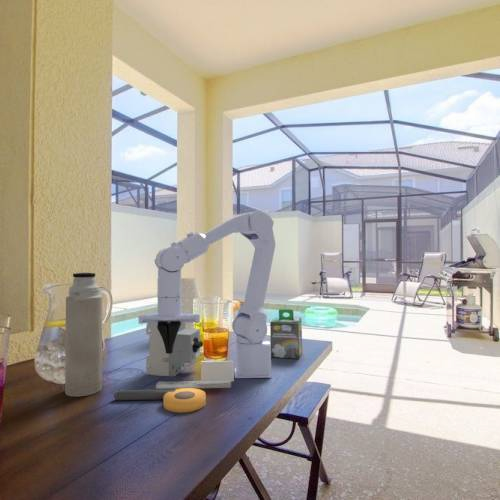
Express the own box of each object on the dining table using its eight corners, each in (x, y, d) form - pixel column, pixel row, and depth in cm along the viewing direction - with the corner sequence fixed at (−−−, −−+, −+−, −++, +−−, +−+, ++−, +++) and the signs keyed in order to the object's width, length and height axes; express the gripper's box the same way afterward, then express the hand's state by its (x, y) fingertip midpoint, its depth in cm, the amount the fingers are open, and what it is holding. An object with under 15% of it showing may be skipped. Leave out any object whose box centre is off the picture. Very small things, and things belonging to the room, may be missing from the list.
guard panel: (233, 380, 92) (233, 360, 92) (233, 381, 91) (233, 361, 91) (201, 380, 91) (201, 361, 92) (201, 381, 91) (201, 362, 91)
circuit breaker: (196, 378, 98) (196, 320, 98) (146, 374, 100) (146, 318, 101) (205, 369, 105) (205, 316, 105) (158, 366, 108) (158, 314, 108)
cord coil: (207, 395, 85) (207, 387, 85) (204, 411, 76) (204, 402, 76) (167, 396, 85) (167, 388, 85) (159, 413, 76) (159, 403, 76)
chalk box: (302, 352, 124) (302, 307, 124) (299, 359, 115) (299, 311, 115) (275, 350, 126) (274, 306, 126) (269, 357, 117) (269, 310, 117)
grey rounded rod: (178, 397, 84) (178, 388, 84) (176, 400, 82) (176, 391, 82) (115, 398, 84) (115, 389, 84) (112, 401, 82) (112, 392, 82)
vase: (154, 341, 139) (155, 280, 140) (172, 332, 156) (172, 277, 157) (199, 343, 136) (199, 280, 137) (212, 333, 154) (212, 277, 154)
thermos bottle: (83, 383, 94) (83, 271, 94) (109, 386, 91) (109, 272, 92) (57, 394, 86) (58, 273, 87) (84, 398, 84) (85, 273, 84)
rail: (231, 384, 93) (231, 380, 93) (231, 387, 90) (231, 383, 90) (157, 385, 92) (157, 381, 92) (155, 389, 89) (155, 385, 89)
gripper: (135, 298, 87) (135, 357, 86) (197, 298, 87) (197, 356, 87) (142, 295, 94) (142, 349, 93) (200, 295, 94) (200, 348, 94)
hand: (169, 352), depth 91 cm, fingers closed
